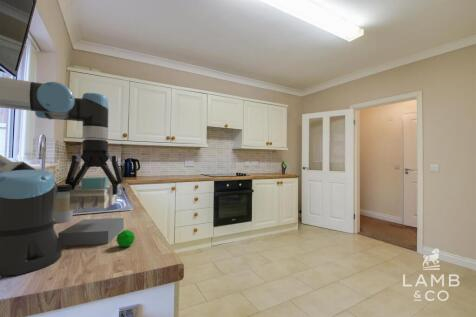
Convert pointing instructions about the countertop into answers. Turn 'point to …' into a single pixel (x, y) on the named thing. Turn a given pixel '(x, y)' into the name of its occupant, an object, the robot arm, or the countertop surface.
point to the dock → (91, 232)
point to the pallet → (90, 198)
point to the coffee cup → (63, 204)
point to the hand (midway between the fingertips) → (95, 204)
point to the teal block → (94, 183)
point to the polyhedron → (125, 238)
